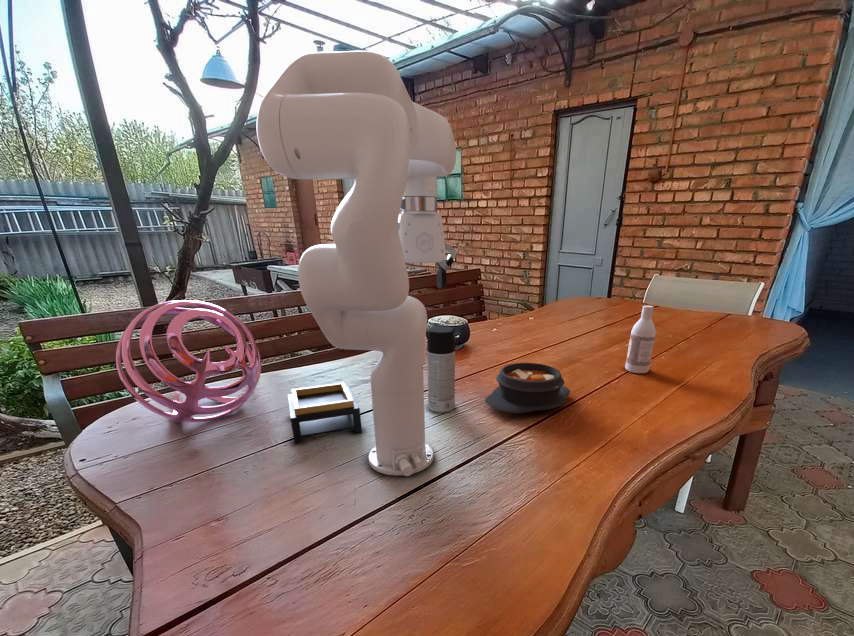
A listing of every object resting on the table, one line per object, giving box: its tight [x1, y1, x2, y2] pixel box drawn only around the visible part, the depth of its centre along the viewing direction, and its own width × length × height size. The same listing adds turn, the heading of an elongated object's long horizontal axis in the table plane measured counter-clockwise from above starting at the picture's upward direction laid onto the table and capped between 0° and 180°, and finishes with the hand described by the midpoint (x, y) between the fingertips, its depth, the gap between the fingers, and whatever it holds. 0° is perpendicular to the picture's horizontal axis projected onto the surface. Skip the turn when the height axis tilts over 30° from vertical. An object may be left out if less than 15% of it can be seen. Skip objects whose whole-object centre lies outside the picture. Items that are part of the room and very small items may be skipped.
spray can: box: [426, 325, 456, 414], centre depth 102 cm, size 7×7×20 cm
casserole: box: [484, 362, 571, 414], centre depth 108 cm, size 25×19×8 cm
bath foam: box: [624, 304, 657, 374], centre depth 129 cm, size 7×7×20 cm
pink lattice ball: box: [115, 299, 262, 423], centre depth 98 cm, size 28×28×27 cm
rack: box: [286, 382, 363, 445], centre depth 95 cm, size 14×14×8 cm
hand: (421, 289), depth 97 cm, fingers open, 9 cm apart
